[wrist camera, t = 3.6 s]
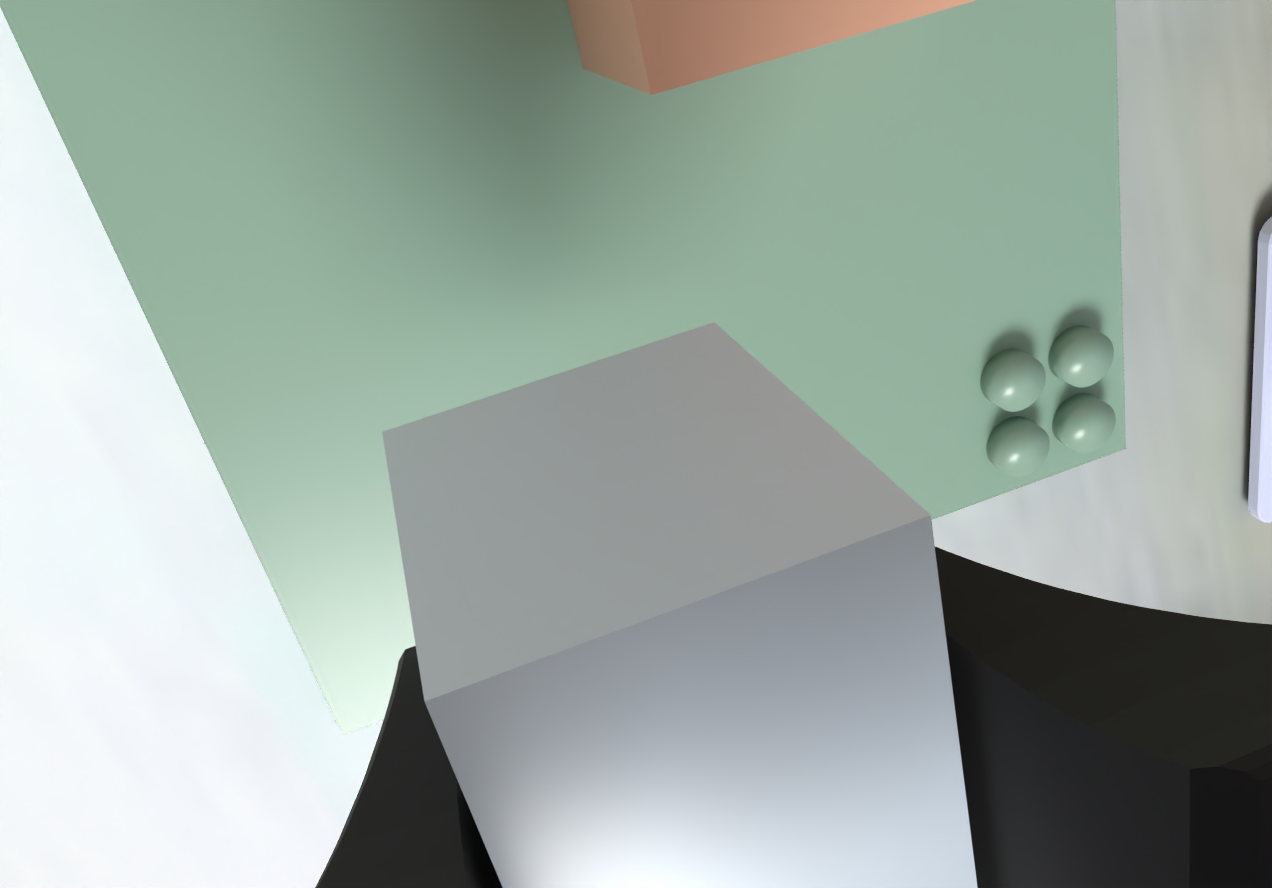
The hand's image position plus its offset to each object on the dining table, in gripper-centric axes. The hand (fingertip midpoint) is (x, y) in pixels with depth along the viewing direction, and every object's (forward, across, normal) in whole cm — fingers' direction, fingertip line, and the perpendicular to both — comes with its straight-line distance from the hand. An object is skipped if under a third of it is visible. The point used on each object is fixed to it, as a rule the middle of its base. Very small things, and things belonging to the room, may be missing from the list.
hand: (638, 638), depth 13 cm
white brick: (+1, 0, 0) cm, 1 cm away
